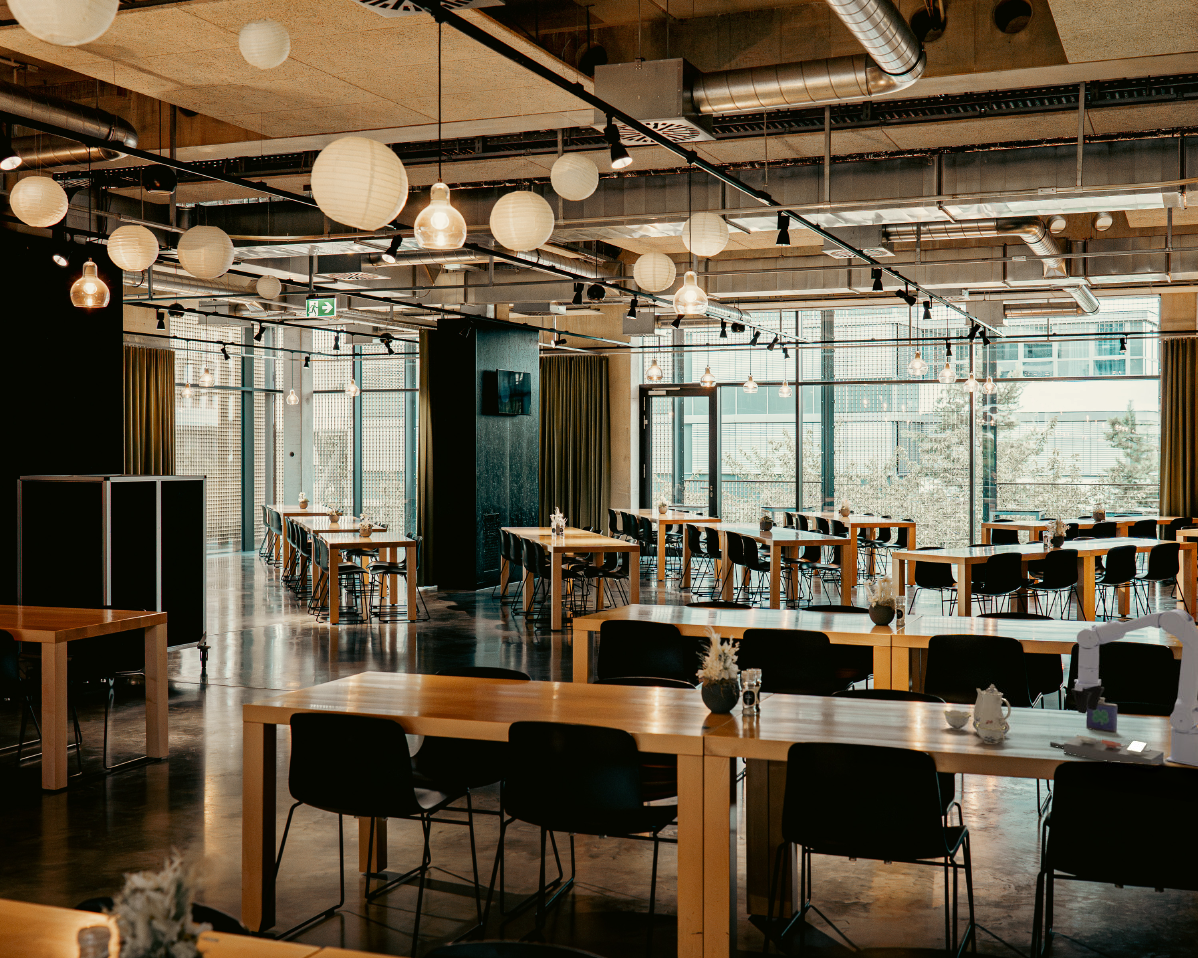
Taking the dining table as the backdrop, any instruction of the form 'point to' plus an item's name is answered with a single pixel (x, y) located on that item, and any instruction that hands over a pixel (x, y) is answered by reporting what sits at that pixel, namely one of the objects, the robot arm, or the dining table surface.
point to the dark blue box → (1102, 717)
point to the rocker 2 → (1136, 747)
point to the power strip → (1110, 752)
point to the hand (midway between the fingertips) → (1087, 711)
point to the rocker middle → (1111, 743)
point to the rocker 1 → (1086, 739)
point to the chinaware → (984, 716)
